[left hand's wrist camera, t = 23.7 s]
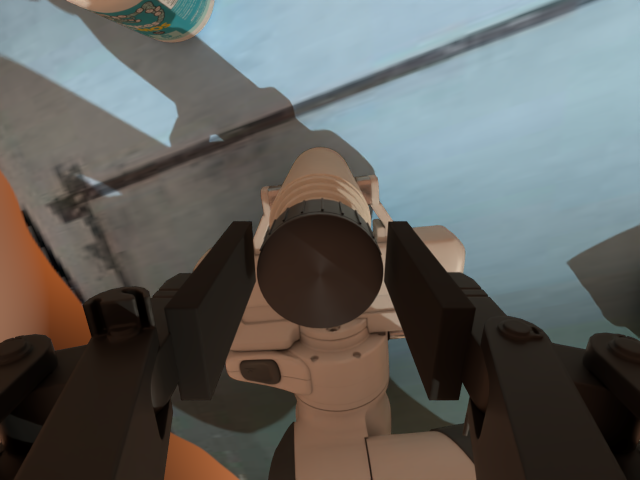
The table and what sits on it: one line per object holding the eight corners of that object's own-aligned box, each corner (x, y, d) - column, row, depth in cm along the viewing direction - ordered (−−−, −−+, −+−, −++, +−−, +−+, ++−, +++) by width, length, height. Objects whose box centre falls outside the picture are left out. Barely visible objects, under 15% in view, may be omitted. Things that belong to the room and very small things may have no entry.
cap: (247, 270, 15) (234, 297, 12) (297, 176, 13) (292, 188, 11) (339, 315, 15) (342, 347, 13) (396, 231, 14) (410, 252, 12)
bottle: (330, 216, 32) (342, 346, 14) (280, 188, 31) (226, 289, 13) (361, 166, 30) (418, 243, 12) (309, 135, 29) (291, 169, 12)
